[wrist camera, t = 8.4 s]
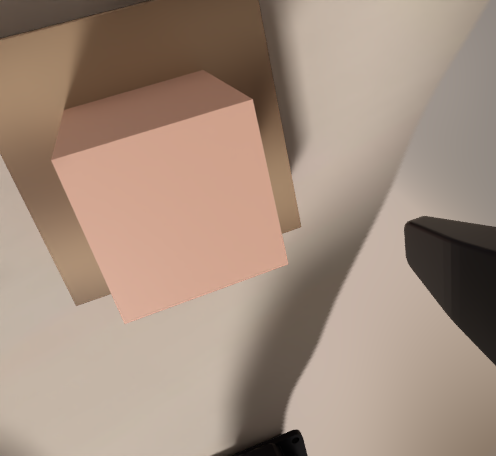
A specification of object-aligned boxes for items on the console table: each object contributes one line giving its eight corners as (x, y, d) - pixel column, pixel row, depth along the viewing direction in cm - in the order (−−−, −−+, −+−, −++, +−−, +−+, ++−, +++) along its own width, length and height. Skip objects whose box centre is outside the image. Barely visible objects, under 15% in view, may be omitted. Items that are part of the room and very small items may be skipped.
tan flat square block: (277, 202, 23) (301, 227, 21) (78, 270, 22) (76, 306, 19) (231, -21, 19) (253, -25, 16) (-29, 45, 17) (-50, 53, 15)
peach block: (235, 194, 19) (288, 264, 14) (115, 234, 19) (124, 324, 13) (202, 69, 17) (252, 99, 12) (63, 109, 16) (50, 160, 11)
